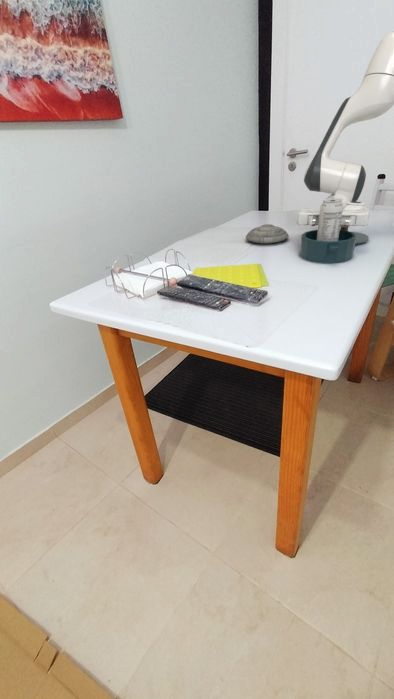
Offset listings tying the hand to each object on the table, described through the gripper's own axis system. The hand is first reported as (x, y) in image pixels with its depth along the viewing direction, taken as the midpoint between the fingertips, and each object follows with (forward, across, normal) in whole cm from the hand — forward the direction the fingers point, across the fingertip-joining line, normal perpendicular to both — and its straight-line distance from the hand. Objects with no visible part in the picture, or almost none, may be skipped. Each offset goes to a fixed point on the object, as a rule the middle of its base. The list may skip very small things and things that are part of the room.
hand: (330, 223), depth 96 cm
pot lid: (-18, +4, +9) cm, 21 cm away
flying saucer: (-15, -21, +10) cm, 28 cm away
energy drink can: (-1, 0, +9) cm, 9 cm away
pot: (-1, 0, +10) cm, 10 cm away
